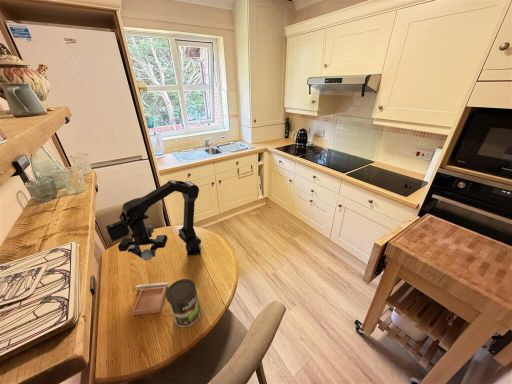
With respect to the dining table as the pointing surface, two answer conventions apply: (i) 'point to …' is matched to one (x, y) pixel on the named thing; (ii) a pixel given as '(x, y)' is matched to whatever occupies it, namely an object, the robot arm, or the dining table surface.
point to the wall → (152, 286)
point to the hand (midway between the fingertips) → (148, 256)
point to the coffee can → (183, 302)
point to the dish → (149, 300)
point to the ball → (146, 254)
